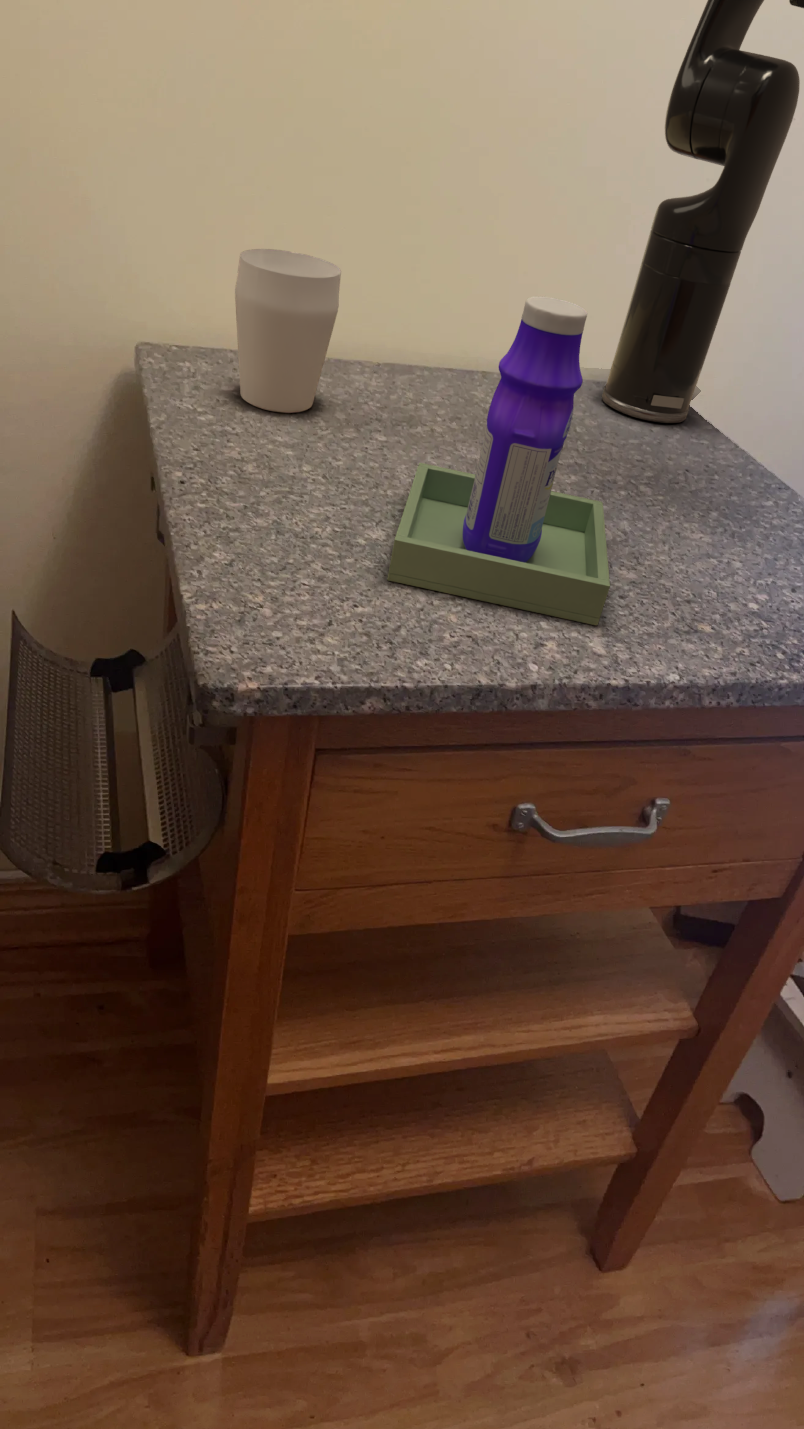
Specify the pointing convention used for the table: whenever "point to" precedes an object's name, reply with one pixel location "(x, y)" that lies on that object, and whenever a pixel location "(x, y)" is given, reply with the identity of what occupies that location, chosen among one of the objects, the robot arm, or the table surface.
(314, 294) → the cup
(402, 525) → the tray
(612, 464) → the table surface
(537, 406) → the bottle
